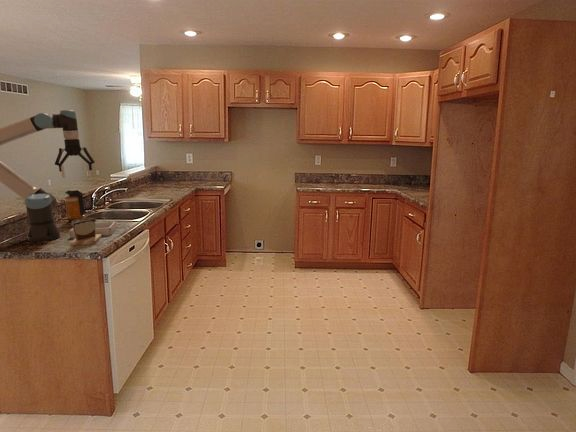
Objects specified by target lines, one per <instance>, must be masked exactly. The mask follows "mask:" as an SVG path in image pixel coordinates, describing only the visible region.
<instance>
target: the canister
mask: <svg viewBox="0 0 576 432" xmlns="http://www.w3.org/2000/svg"><path fill="white" fill-rule="evenodd" d="M65 194H66V195H68V196H66V197H65V210H66V217H67V221H68V222H71V223H72V221H73V220H76V219H81V218H84V215H85V214H86V212H85V209H84V208H85V207H84V200H83V195H84V193H83V192H81V191H79V190H77V189H76V190H67V191H66V192H65Z"/></svg>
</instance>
